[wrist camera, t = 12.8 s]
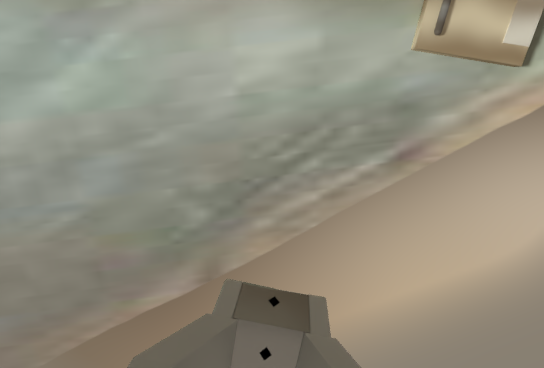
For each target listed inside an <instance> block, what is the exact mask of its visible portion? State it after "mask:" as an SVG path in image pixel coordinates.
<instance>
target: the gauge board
mask: <svg viewBox="0 0 544 368" xmlns="http://www.w3.org/2000/svg"><path fill="white" fill-rule="evenodd" d="M543 9H544V0H424V3H423V7H422V11H421V14H420V18H419V22H418V25H417V29H416V33H415V36H414V40H413V44H412V47H411V50H415V51H421V52H427V53H433V54H439V55H445V56H451V57H457V58H463V59H469V60H475V61H481V62H487V63H493V64H500V65H506V66H512V67H516V66H522V64H523V61H524V58H525V56H526V53H527V51H528V48H529V46H530V43H531V40H532V38H533V35H534V33H535V30H536V27H537V25H538V22H539V19H540V17H541V14H542V11H543Z"/></svg>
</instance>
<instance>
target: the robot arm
mask: <svg viewBox="0 0 544 368" xmlns="http://www.w3.org/2000/svg"><path fill="white" fill-rule="evenodd" d="M127 368H361V367H360V366H359V365H358V363H357V362H356V361H355V360H354V359H353V358H352V356H351V355H350V354H349V353H348V352H347V351H346V350H345V348H344V347H343V346H342V345H341V344H340V343H339V341H338V340H337V339H336V338H331V334H330V327H329V319H328V310H327V302H326V298H325V297H321V296H314V295H306V294H300V293H294V292H288V291H282V290H278V289H274V288H270V287H265V286H260V285H256V284H251V283H246V282H241V281H236V280H231V279H226V280H225V282H224V285H223V287H222V290H221V292H220V295H219V297H218V300H217V303H216V305H215V308H214V310H213V313H212V314H205V315H204V316H202V317H200V318H199V319H197V320H195V321H194V322H192V323H190V324H189V325H187V326H186V327H184V328H182V329H180V330H179V331H177V332H175V333H174V334H172V335H170V336H169V337H167V338H165V339H164V340H162V341H160V342H159V343H157V344H155V345H154V346H152V347H150V348H149V349H147V350H145V351H144V352H142V353H140V354H139V355H137V356H135V357H134V358H133V360H132V361H131V362H130V364H129V366H128V367H127Z"/></svg>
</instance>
